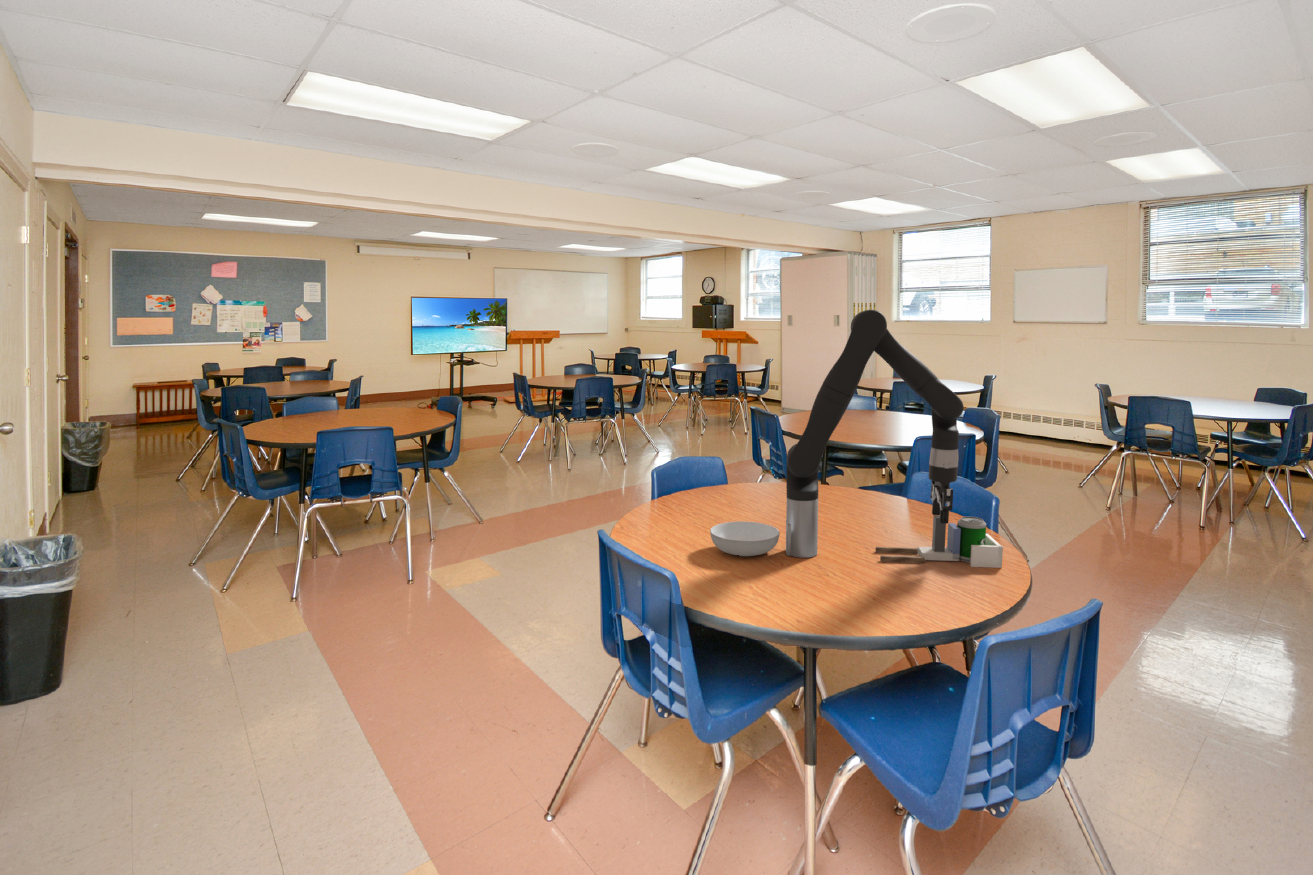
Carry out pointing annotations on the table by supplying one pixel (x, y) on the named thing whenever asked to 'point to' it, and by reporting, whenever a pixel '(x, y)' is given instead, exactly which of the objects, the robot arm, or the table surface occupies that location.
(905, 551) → the track
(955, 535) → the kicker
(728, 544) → the serving bowl
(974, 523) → the soda can
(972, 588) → the table surface
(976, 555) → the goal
